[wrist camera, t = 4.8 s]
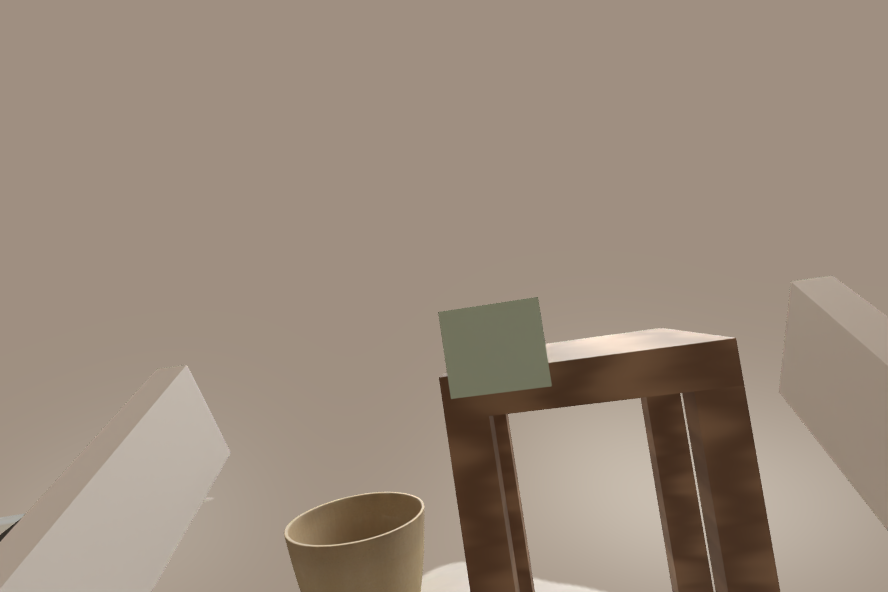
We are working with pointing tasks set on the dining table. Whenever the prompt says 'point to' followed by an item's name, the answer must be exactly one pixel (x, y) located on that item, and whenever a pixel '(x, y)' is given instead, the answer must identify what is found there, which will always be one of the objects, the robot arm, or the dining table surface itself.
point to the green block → (495, 348)
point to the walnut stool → (713, 446)
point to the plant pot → (359, 544)
